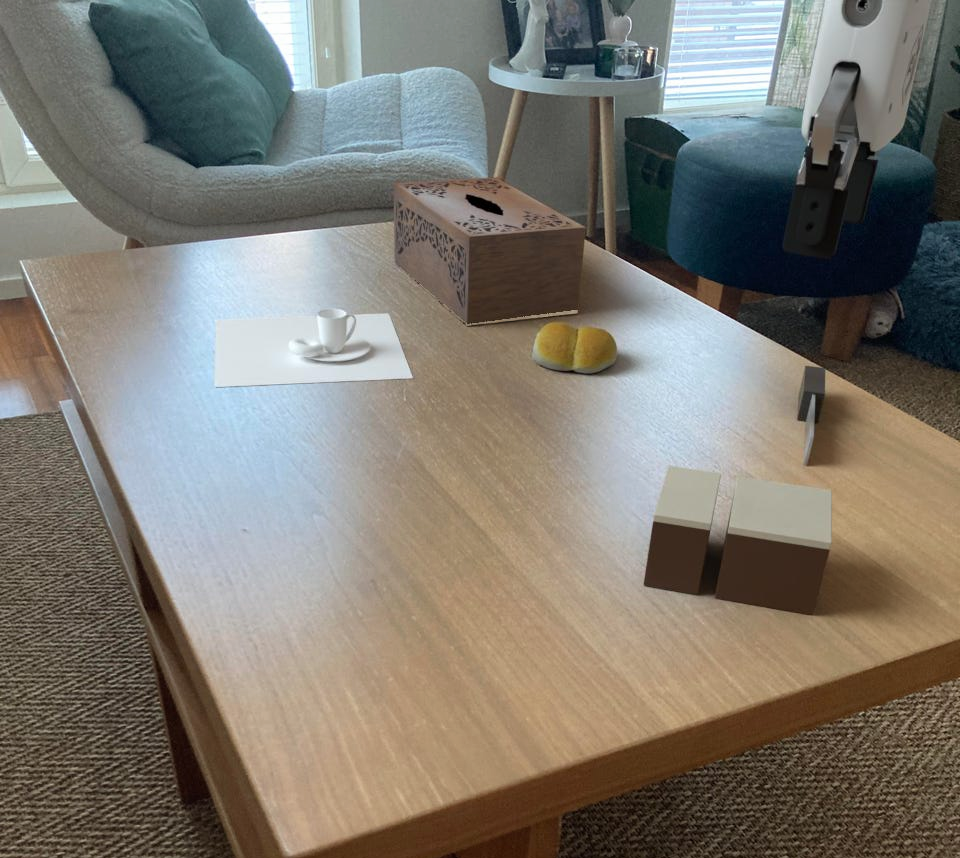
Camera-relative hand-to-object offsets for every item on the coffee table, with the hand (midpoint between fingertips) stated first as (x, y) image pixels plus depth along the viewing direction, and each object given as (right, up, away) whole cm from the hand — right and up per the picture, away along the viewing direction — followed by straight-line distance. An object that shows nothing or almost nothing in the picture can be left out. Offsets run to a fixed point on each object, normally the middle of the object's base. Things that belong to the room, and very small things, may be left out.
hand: (824, 236), depth 67 cm
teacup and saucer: (-41, +5, +45) cm, 61 cm away
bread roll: (-13, +3, +44) cm, 46 cm away
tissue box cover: (-22, +18, +63) cm, 70 cm away
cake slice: (-8, -21, +11) cm, 25 cm away
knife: (+9, -6, +32) cm, 34 cm away
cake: (-1, -22, +9) cm, 24 cm away
